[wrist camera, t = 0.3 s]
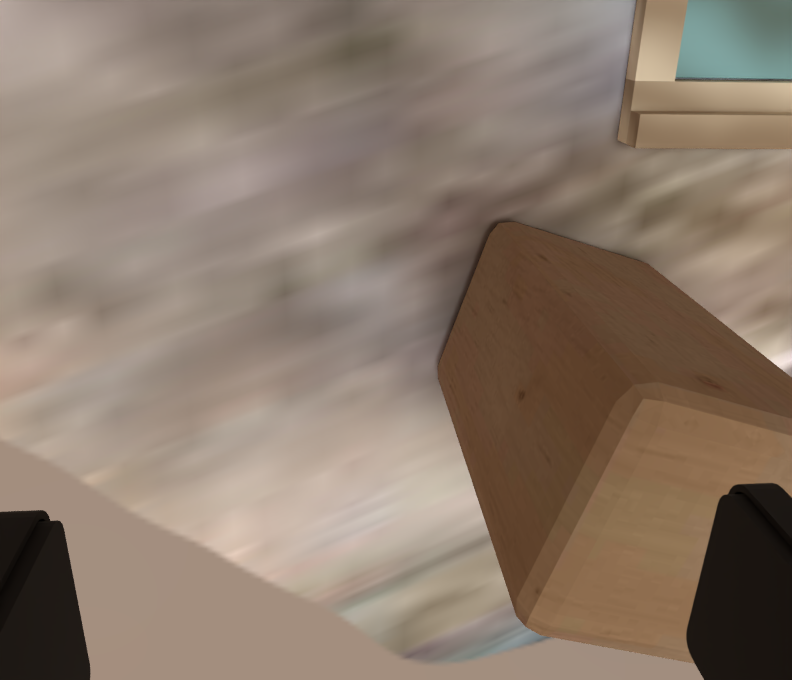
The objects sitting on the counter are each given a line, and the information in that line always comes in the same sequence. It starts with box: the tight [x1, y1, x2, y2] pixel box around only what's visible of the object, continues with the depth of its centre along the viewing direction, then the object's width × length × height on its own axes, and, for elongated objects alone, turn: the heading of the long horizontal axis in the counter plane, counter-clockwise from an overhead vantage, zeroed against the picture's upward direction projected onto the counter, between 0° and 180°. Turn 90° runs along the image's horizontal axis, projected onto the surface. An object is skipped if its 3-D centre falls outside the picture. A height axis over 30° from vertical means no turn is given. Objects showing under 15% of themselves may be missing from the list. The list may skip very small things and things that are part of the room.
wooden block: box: [438, 222, 792, 663], centre depth 34 cm, size 10×10×20 cm
